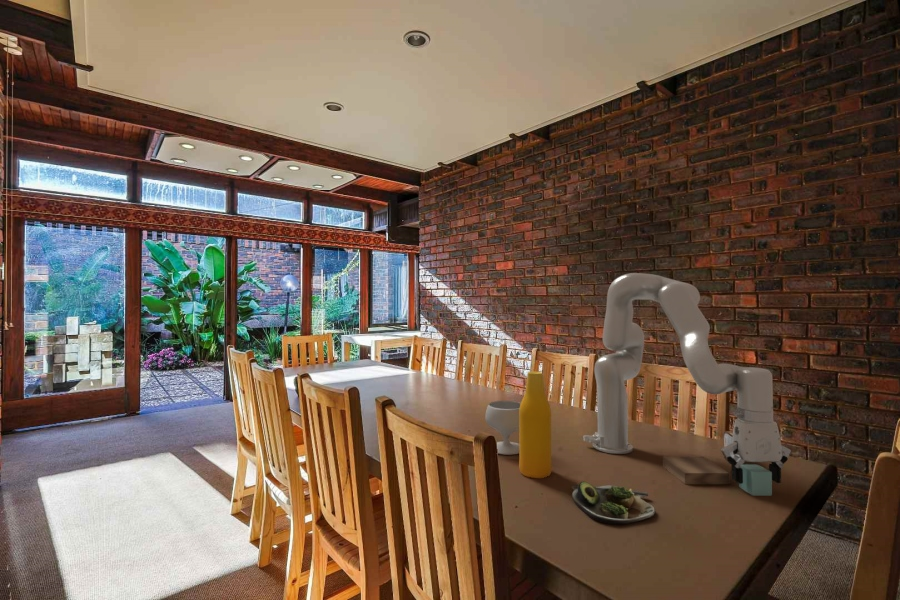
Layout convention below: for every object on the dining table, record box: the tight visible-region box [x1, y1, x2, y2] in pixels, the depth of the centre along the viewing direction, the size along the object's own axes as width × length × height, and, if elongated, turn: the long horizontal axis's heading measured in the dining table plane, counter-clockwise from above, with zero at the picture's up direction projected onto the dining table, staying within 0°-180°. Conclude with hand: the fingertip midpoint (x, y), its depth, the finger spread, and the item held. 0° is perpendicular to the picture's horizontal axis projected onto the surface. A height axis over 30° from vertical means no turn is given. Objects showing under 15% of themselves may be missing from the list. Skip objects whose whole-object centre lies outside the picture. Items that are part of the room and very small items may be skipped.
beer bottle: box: [518, 371, 552, 479], centre depth 122 cm, size 9×9×29 cm
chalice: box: [484, 400, 521, 456], centre depth 141 cm, size 14×14×15 cm
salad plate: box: [570, 481, 656, 525], centre depth 102 cm, size 19×18×5 cm
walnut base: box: [662, 456, 731, 485], centre depth 120 cm, size 12×12×3 cm
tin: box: [722, 430, 756, 465], centre depth 129 cm, size 15×3×8 cm, turn 168°
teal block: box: [738, 463, 773, 497], centre depth 109 cm, size 5×5×6 cm
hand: (756, 481), depth 109 cm, fingers open, 9 cm apart
